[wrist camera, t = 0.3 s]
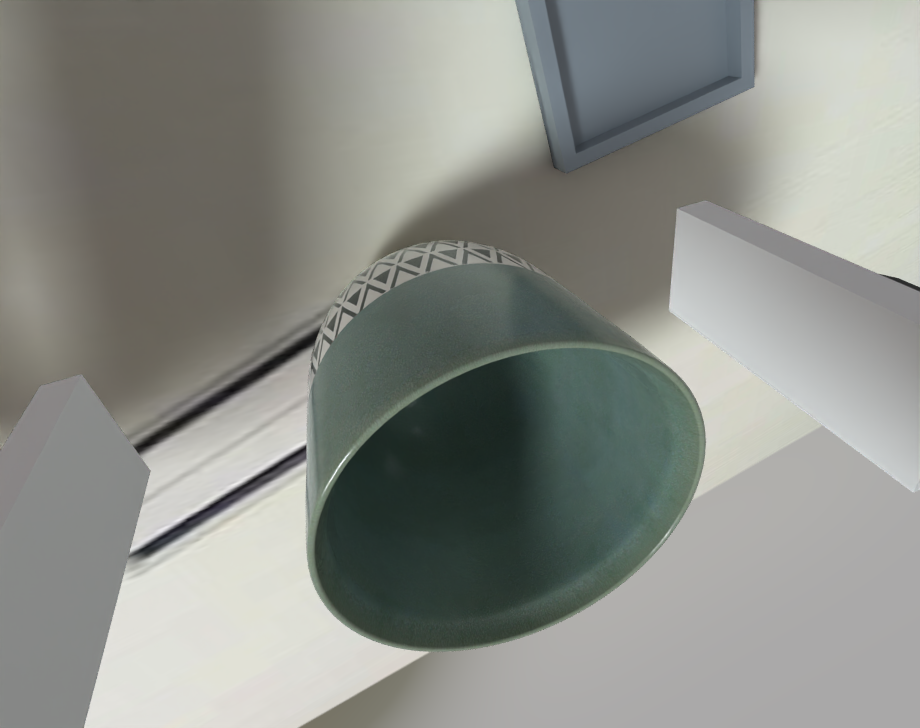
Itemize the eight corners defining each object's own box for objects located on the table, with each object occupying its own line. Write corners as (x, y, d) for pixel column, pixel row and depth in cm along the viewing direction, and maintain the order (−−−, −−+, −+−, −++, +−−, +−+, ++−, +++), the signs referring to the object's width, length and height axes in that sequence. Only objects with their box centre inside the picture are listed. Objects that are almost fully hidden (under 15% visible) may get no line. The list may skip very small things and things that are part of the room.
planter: (325, 158, 35) (376, 295, 17) (575, 233, 43) (781, 378, 25) (270, 407, 43) (268, 667, 26) (488, 431, 51) (598, 641, 34)
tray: (495, -85, 31) (507, -91, 29) (728, -187, 31) (753, -198, 30) (554, 167, 39) (566, 173, 38) (734, 84, 40) (754, 86, 38)
